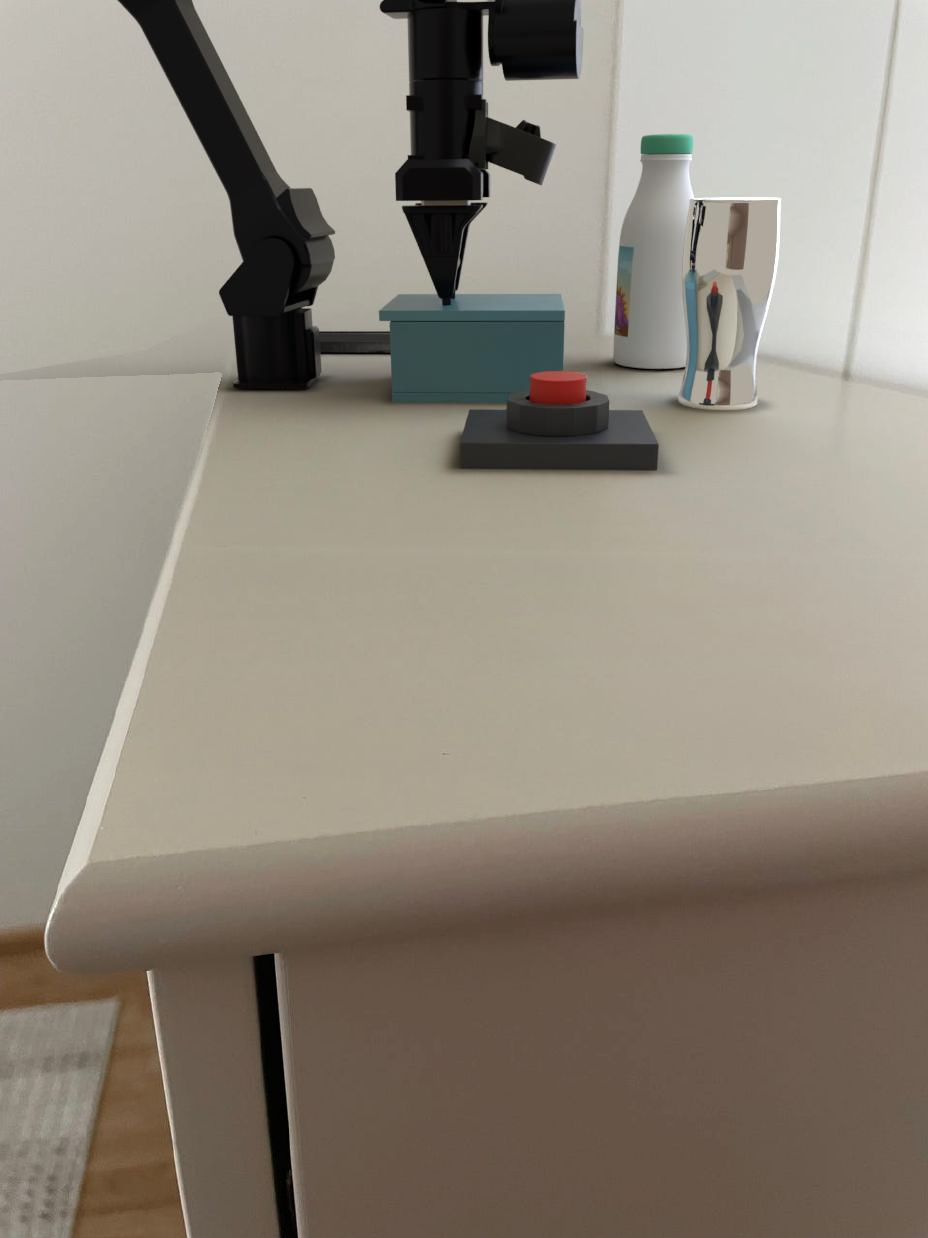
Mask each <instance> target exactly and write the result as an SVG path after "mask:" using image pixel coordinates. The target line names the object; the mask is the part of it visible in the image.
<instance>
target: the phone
mask: <svg viewBox="0 0 928 1238" xmlns="http://www.w3.org/2000/svg"><path fill="white" fill-rule="evenodd" d="M319 338H320V353H391V349H390V330H387V331H386V330H385V331H384V330H383V331H382V330H381V331H380V330H379V331H378V330H377V331H376V330H374V331H370V330H367V331H366V330H362V331H361V330H359V331H358V330H357V331H356V330H355V331H354V330H351V331H350V330H349V331H347V330H345V331H344V330H341V331H340V330H339V331H336V330H329V331H328V330H322V331H321V330H319Z"/></svg>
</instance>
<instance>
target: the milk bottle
mask: <svg viewBox="0 0 928 1238" xmlns="http://www.w3.org/2000/svg"><path fill="white" fill-rule="evenodd" d="M694 140H695V139H694V136H693V135H692V134H687V133H659V134H658V133H657V134H655V133H654V134H645V135H642V137H641V140H640V159H639V161H640V163H641V165H642V168H641V174H640V178H639V181H638V185H637V188H636V190H635V193H634V196H633V198H632V200H631V202H630V204H629V206H628V208H627V210H626V213H625V215H624V219H623V221H622V224H621V225H622V226H621V229H620V236H619V243H618V254H617V268H616V269H617V270H616V271H617V272H616V289H615V306H614V307H615V309H614V329H613V359H614V363H615V364H617V365H618V366H622V367H629V368H635V369H636V368H637V369H646V370H647V369H650V370H651V369H652V370H663V369H664V370H666V369H667V370H668V369H680V368H685V367H686V358H687V339H686V326H685V316H684V306H683V295H682V257H683V246H684V238H685V230H686V223H687V217H688V210H689V200H690V199H695V196H694V193H693V188H692V184H691V177H690V163H691V162H692V161H693V158H692V156H693V155H692V154H693V152H694Z"/></svg>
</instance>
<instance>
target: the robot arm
mask: <svg viewBox="0 0 928 1238" xmlns="http://www.w3.org/2000/svg"><path fill="white" fill-rule="evenodd" d="M117 2H118V3H119V4H120V5H121V6H122V7H123V8H124V9H125V10H126V11H127V12H128V14H130V16H131V17H132V18H133V19H134V20H135V21H136V23H137V24H138V26H139V27H140V29H141V30H142V33H143V35H144V36H145V39H146V40H147V42H148V44H149V46H150V48H151V50H152V52H153V54H154V56H155V58H156V59H157V62H158V63H159V66H160V67H161V69H162V71H163V73H164V75H165V77H166V78H167V81H168V83H169V84H170V87H171V88H172V90H173V92H174V95H175V97H176V98H177V100H178V102H179V104H180V106H181V108H182V110H183V111H184V114H185V115H186V117H187V119H188V121H189V123H190V125H191V128H192V129H193V131H194V133H195V134H196V136H197V139H198V140H199V143H200V144H201V146H202V148H203V150H204V152H205V154H206V156H207V158H208V159H209V161H210V163H211V165H212V167H213V169H214V171H215V173H216V175H217V177H218V178H219V179H218V180H219V181H220V183H221V184H222V186H223V188H224V190H225V192H226V194H227V198H228V200H229V206H230V216H231V222H232V230H233V237H234V239H235V242H236V245H237V249H238V251H239V255H240V256H241V260H242V262H241V263H240V265H239V266H238V267H237V268H236V269H235V271H234V272H233V273H232V274H231V275H230V277H229V278H228V279H227V280H226V281H225V282H224V284H223V285H222V286H221V287H220V288H219V291H218V294H219V298H220V299H221V302H222V304H223V307H224V309H225V311H226V314H227V315H228V316H229V317H232V326H233V327H232V328H233V336H234V348H235V359H236V361H235V362H236V371H237V379H235V380H234V381H233V382H232V388H233V389H307V388H309V387H311V385H312V384H313V383H314V382H315V381H317V380H318V379H319V378H320V377H321V374H322V357H321V355H322V354H321V352H320V338H319V331H320V328H319V326H317V325H313V314H312V313H313V312H312V308H309V307H312V306H314V303H315V300H316V296H317V292H318V289H319V286H321V285H322V284H324V282H326V281H327V279H328V277H329V276H330V274H331V273H332V271H333V267H334V262H335V260H336V254H335V247H334V244H333V242H332V239H331V237H330V236H333V235H335V234H336V230H335V229H334V228H333V227H331V226H330V224H329V223H328V221H327V220H326V219H325V217H324V216H323V213H322V211H321V208H320V207H321V206H320V204H319V202H318V198H317V196H316V194H315V192H314V190H313V188H311V187H297V188H296V187H295V188H292V187H290V185H289V184H288V183H286V182H285V180H284V179H283V178H282V177H281V175H280V174H279V172H278V171H277V169H276V167H275V165H274V162H273V161H272V159H271V157H270V155H269V153H268V151H267V149H266V147H265V145H264V143H263V141H262V139H261V137H260V135H259V134H258V131H257V129H256V127H255V125H254V123H253V121H252V120H251V117H250V115H249V113H248V111H247V109H246V108H245V105H244V104H243V101H242V99H241V98H240V95H239V94H238V92H237V89H236V88H235V85H234V83H233V81H232V79H231V77H230V75H229V74H228V71H227V70H226V68H225V66H224V64H223V61H222V59H221V57H220V56H219V53H218V52H217V50H216V48H215V45H214V44H213V42H212V40H211V38H210V36H209V34H208V32H207V30H206V28H205V26H204V24H203V22H202V20H201V18H200V16H199V13H198V12H197V10H196V8H195V5H194V2H193V0H117ZM378 7H379V10H380V12H381V13H383V14H385V15H386V16H388V17H389V18H392V19H393V20H404V19H405V20H407V54H408V59H407V61H408V95H407V94H406V95H405V105H406V107H405V108H406V111H407V112H409V132H410V133H409V136H410V137H409V138H410V154H407V159H406V160H405V161H404V163H402V165H401V166H400V167H399V168H398V169H397V170H396V172H395V173H394V178H395V179H394V181H395V185H394V186H395V187H394V188H395V202H415V203H414V204H409V205H408V204H404V205H401V210H402V212H403V214H404V216H405V218H406V221H407V223H408V225H409V229H410V231H411V232H412V235H413V237H414V240H415V243H416V244H417V248H418V249H419V253H420V255H421V257H422V259H423V262H424V264H425V266H426V269H427V272H428V274H429V277H430V279H431V282H432V284H433V287H434V289H435V292H436V294H438V297H439V298H440V299H451V298H452V297H453V293H454V287H455V288H456V292H457V291H458V290H459V286H460V281H461V275H462V271H463V270H462V269H463V264H464V258H465V253H466V248H467V243H468V237H469V231H470V227H471V223H472V222H474V220H475V219H476V218H477V217H478V216H479V215H480V214H481V213H482V212H483V210H484V209H485V208H487V206H488V204H489V202H487V201H486V202H485V201H484V202H483V200H484V198H491V174H490V172H489V171H488V170H489V164H493V165H495V166H498V167H500V168H502V169H505V170H507V171H510V172H513V173H515V174H518V175H520V176H523V178H524V179H525V180H526V181H529V182H532V183H534V184H536V185H538V186H543V183H544V181H545V178H546V175H547V172H548V169H549V167H550V164H551V161H552V159H553V155H554V153H555V150H556V147H557V144H556V143H554V142H553V141H551V140H548V139H545V138H542V135H541V125H538V124H534V123H531V122H529V121H527V120H526V119H522V120H521V121H520V122H519V124H517V125H516V126H515V127H514V126H512V125H510V124H508V123H504V122H502V121H499V120H496V119H494V118H491V117H490V116H489V102H487V99H486V98H485V97H484V16H486V17H488V20H487V21H488V22H487V51H488V59H489V63H490V66H491V67H500V65H501V69H502V74H503V78H504V81H506V82H508V81H509V82H511V81H512V82H515V81H549V80H551V81H552V80H554V81H555V80H580V78H581V75H582V74H581V73H582V67H583V66H582V65H583V55H584V54H583V53H584V52H583V51H584V28H583V26H582V9H581V0H485V1H458V0H381V2H380V3H379V6H378ZM473 201H474V202H473ZM475 201H479V202H475ZM481 201H482V202H481ZM459 256H460V259H461V263H460V266H459V267H458V262H459ZM457 268H458V269H457ZM305 307H306V308H305Z"/></svg>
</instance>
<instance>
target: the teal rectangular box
mask: <svg viewBox="0 0 928 1238" xmlns="http://www.w3.org/2000/svg"><path fill="white" fill-rule="evenodd" d="M565 326H566V324H565V321H389V331H390V349H391V352H390V371H391V372H390V373H391V376H390V378H391V401H392V403H507V396H508V395H509V394H513V393H516V392H519V391H522V390H530V376H531V375H532V374H534V373H539V372H548V371H564V364H565V363H564V360H565V359H564V357H565V329H566V328H565Z"/></svg>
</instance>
